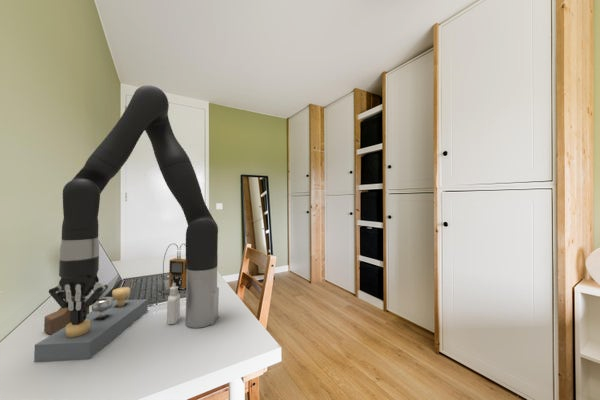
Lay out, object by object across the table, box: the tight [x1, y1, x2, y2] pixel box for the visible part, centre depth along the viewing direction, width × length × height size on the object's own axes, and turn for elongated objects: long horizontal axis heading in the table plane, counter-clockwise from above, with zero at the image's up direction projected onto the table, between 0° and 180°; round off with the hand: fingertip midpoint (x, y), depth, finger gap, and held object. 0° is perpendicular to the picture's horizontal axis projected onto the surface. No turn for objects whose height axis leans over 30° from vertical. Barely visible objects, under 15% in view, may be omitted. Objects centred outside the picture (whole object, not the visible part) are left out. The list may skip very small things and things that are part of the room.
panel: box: [33, 298, 149, 363], centre depth 69 cm, size 12×26×4 cm, turn 6°
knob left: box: [66, 319, 90, 338], centre depth 61 cm, size 5×5×6 cm
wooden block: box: [43, 300, 90, 336], centre depth 72 cm, size 9×4×18 cm, turn 153°
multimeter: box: [162, 243, 187, 288], centre depth 101 cm, size 15×10×20 cm
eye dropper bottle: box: [166, 283, 181, 325], centre depth 76 cm, size 4×6×12 cm
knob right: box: [111, 286, 131, 307], centre depth 78 cm, size 5×5×6 cm
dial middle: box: [91, 296, 114, 320], centre depth 70 cm, size 5×5×6 cm
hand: (78, 323), depth 61 cm, fingers closed
